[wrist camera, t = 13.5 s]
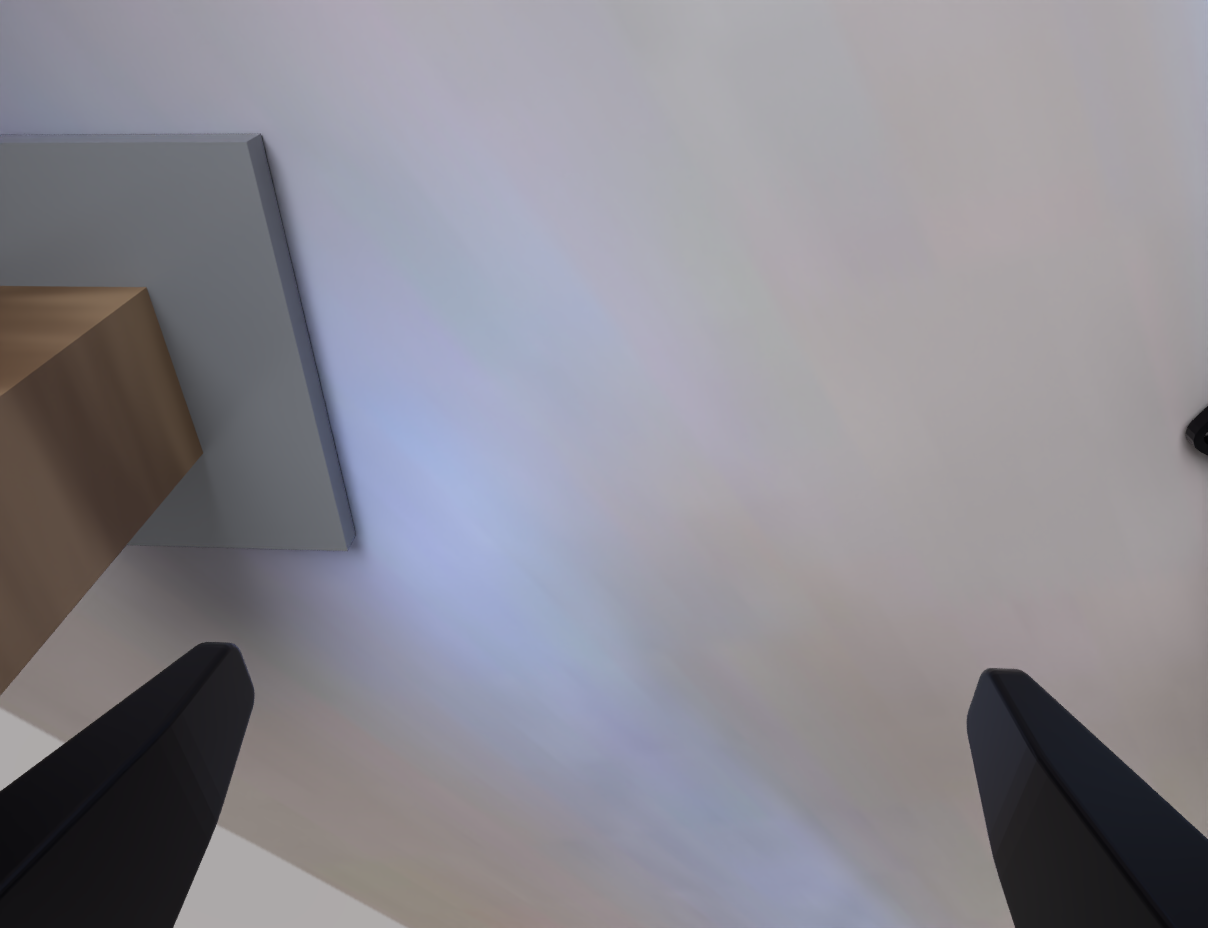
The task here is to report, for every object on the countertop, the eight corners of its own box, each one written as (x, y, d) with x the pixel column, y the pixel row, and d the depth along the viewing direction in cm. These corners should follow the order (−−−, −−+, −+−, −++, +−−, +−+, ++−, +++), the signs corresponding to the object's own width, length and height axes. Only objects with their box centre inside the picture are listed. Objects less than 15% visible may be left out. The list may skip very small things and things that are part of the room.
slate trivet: (260, 133, 19) (246, 142, 19) (355, 534, 26) (347, 551, 26) (-220, 135, 20) (-250, 143, 20) (-8, 524, 27) (-25, 540, 26)
